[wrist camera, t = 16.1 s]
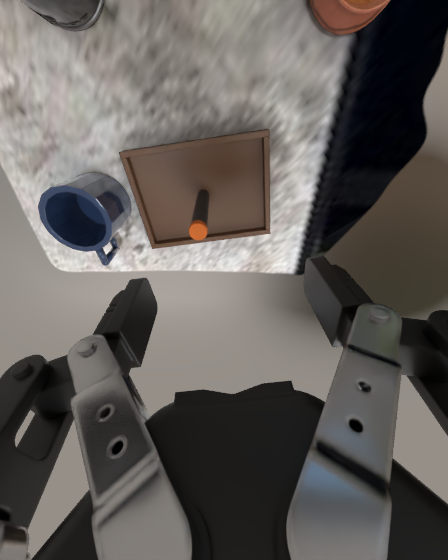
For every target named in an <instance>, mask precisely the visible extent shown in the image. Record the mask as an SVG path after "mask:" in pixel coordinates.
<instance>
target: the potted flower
mask: <svg viewBox="0 0 448 560" xmlns="http://www.w3.org/2000/svg"><path fill="white" fill-rule="evenodd" d="M389 1H390V0H310V3H311V7H312V10H313V12H314V14H315V17H316V19H317V20H318V21H319V23H320V24H321V25H322V26H323V27H324V28H325V29H326V30H328V31H330V32H332V33H335V34H349V33H353V32H355V31H358V30H359V29H361V28H363V27H364V26H366V25H367V24H368V23H369V22H371V21H372V20H373V19H374V18H375V17H376V16H377V15H378V14H379V13H380V12H381V11H382V10H383V9H384V8H385V7H386V5H387V4H388V3H389Z"/></svg>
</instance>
